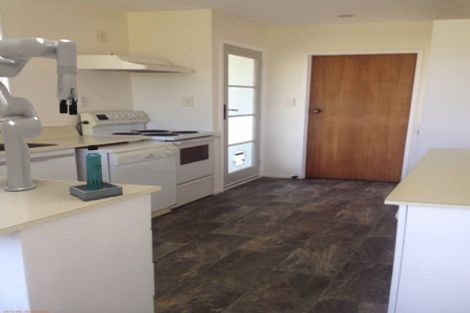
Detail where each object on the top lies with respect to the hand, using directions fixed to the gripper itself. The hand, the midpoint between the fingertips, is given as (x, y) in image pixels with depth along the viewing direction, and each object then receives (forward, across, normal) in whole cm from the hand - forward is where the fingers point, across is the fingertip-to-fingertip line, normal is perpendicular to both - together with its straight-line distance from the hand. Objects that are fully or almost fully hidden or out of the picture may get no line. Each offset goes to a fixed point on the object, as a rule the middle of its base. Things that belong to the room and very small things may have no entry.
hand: (68, 114), depth 160 cm
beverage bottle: (+33, +8, +7) cm, 34 cm away
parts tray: (+34, +8, +7) cm, 35 cm away
